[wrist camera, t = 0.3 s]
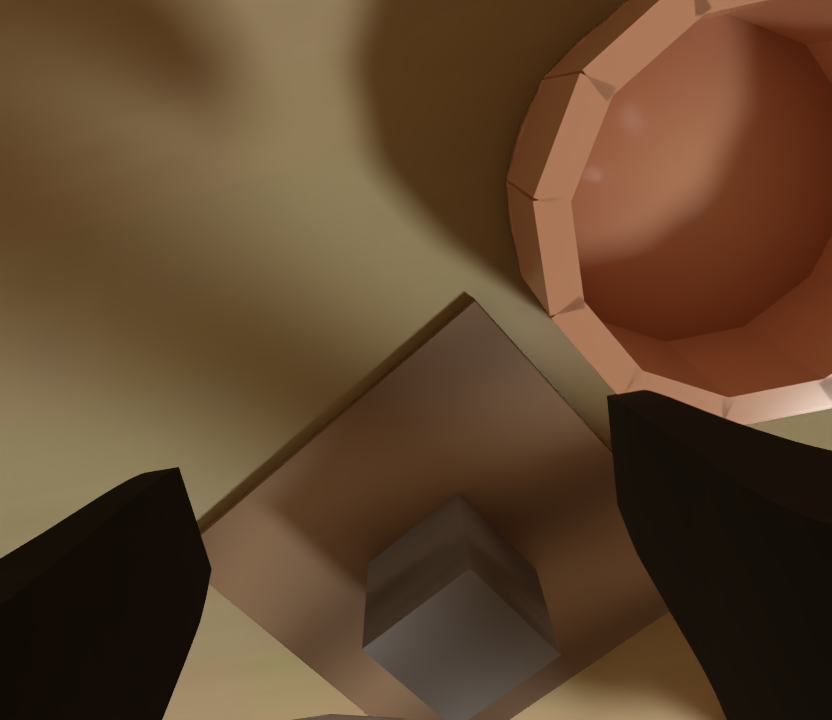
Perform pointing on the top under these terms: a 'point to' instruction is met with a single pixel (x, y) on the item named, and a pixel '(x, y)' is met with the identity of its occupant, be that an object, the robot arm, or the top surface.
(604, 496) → the lid
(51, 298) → the top surface
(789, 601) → the robot arm
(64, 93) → the top surface
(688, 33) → the pot
